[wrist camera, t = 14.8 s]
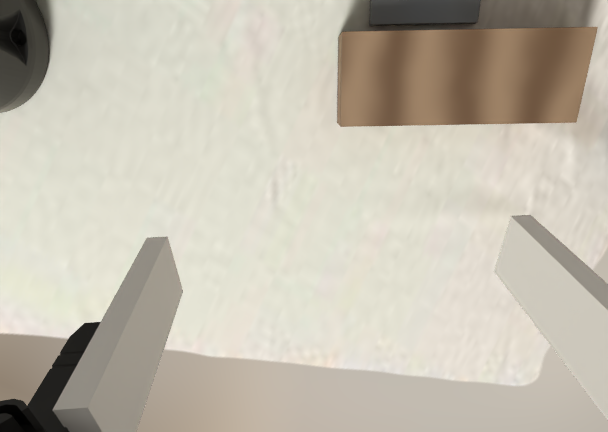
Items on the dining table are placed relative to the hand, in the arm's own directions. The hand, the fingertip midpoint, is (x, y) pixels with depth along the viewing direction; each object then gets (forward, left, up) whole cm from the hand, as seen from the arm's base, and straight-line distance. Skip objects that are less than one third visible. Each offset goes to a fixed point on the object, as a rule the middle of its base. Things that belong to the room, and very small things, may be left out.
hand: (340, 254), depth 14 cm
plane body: (+3, +15, -26) cm, 30 cm away
